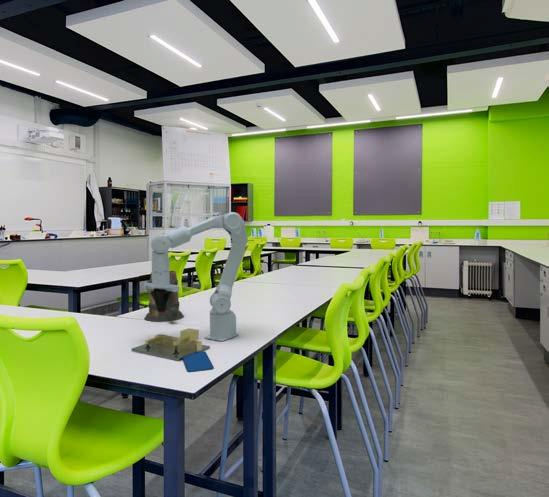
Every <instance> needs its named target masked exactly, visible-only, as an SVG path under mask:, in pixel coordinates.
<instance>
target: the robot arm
mask: <svg viewBox="0 0 549 497" xmlns="http://www.w3.org/2000/svg"><path fill="white" fill-rule="evenodd" d="M211 229H223V230H225V232H227V233H228V235H229V237H230V239H231V240H232V243H231V247H230V249H229V251H228V255H227V259H226V261H225V265H224V267H223V270H222V272H221V276H220V279H219V283H218V284H217V285H216V288H215V291H214V292H213V293H212V294H211V295H210V298H209V304H210V306H211V307H212V308H211V309H210V311H209V335H207V336H205V337H204V339H207V340H213V341H218V342H224V341H226V340H230V339H232V338H235V337H237V336H239V333H237V316H236V314H235V312H234V311H232V310H231V309H230V308H231V306H232V304H231V303H232V302H231V298H232V295H233V294H232V293H233V292H232V291H233V286H234V284H235V281H236V278H237V275H238V272H239V268H240V265H241V262H242V259H243V257H244V253H245V250H246V247H247V245H248V241H249V239H248V234H247V233H248V232H247V229H246V224H245V221H244V219H243V217H242V216H241V215H240V214H239V213H238V212H234V211H232V212H228V213H224V214H220V215H216V216H212V217H210V218H207V219H205V220H203V221H201V222H198V223H196V224H194V225H192V226H189V227H187V226H184V225H182V226H180V225H177V226H175V228H174V229H172V230H169V231H167V232H165V231H164V232H162V235H161V234H160V235H157V236H155V237H153V238H152V240H151V242H150V247H151V249H152V251H151V272H152V283H149V282H144V283H143V290H150V289H154V290H153V291H152V292H150V291H149V295H150V294H151V295H152V297H153V299H154V301H155V303H156V307H157V310H158V312H164V311H165V309H166V305H167V301H168V299H169V297H170V295H171V293H172V291H173V292H178V293H179V292H180V285H173V284H170V271H171V270H170V257H169V249H174V248H177V247H180V246H182V245H184V244H187V243H189V242H190V241H191V239H192V237H193V236H195V235H198V234H200V233H203V232H206V231H209V230H211ZM162 288H164V289H162Z"/></svg>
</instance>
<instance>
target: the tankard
mask: <svg viewBox="0 0 549 497" xmlns="http://www.w3.org/2000/svg"><path fill="white" fill-rule="evenodd" d="M169 271H170V284H173V285H178V284H179V280H178V277H177V272H176V270H169ZM149 277H150V278H149V281H148V283H152V271H151V273H150V276H149ZM178 286H179V285H178ZM162 289H164V288H162ZM153 290H154V289H149V296H148V297H149V301H148V313H147V314H146V315H145V317H144V318H143V321H145V320H146V322H149V321H150V322H149V323H167V322H175V321H178V320H182V319H184V318H185V316H184V314H183V313H182V311H180V301H179V291H178V292H173V291H172V293H171V295H170V297H169V299H168V301H167V305H166V309H165V311H164V312H158V310H157V307H156V303H155V301H154V299H153V297H152V295H151V294H150V292H152V291H153Z"/></svg>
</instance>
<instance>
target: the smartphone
mask: <svg viewBox="0 0 549 497" xmlns="http://www.w3.org/2000/svg"><path fill="white" fill-rule="evenodd" d="M182 362H183V365H184V368H185V370H186V372H187V373H195V372H197V373H198V372H204V371H205V372H206V371H211V370H214V369H215V367H214V365H213V362H212V361H211V359H210V357H209V356H208V353H207V352H206V350H205V351H201V352H195V353H193V354H191V355H189V356H186V357H184V358H183V360H182Z"/></svg>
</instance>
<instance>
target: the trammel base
mask: <svg viewBox="0 0 549 497" xmlns="http://www.w3.org/2000/svg"><path fill="white" fill-rule="evenodd" d="M177 340H180V336H179V337H177V336H172V335H167V334H161V333H160V334H156V335H154V337H153V338H150V339H147V340H145V341H144V342H145V343H144V344H141V345H138V346H135V347H132V348H131V349H130V350H131V352H133V353H134V352H135V353H140V354H144V355H148V356H154V357H158V358H162V359H168V360H170V361H171V360H172V361H176V362H180V361H183V358H184V357H186V356H189V355H191V354H193V353H195V352H201V351H205V352H206V351H208V350H210V349H211V345H205V344H203V342H202V341H200V340H195V341H193V342H185V343H182V344H179V345H177V352H178V353H175V345H173V342H174V341H177Z"/></svg>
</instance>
